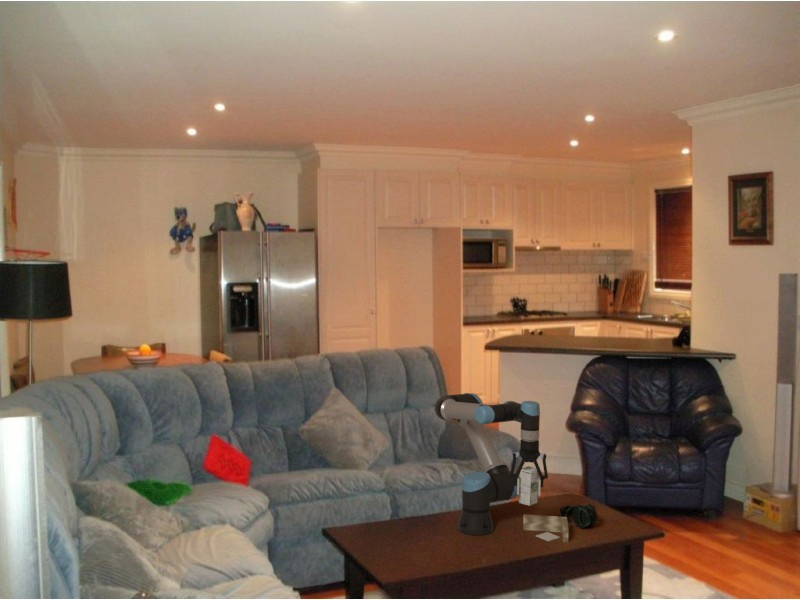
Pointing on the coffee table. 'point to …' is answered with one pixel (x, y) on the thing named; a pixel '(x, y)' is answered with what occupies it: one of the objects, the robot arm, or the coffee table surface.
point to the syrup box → (528, 486)
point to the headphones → (580, 514)
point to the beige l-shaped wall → (546, 524)
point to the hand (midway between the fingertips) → (528, 494)
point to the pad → (547, 536)
